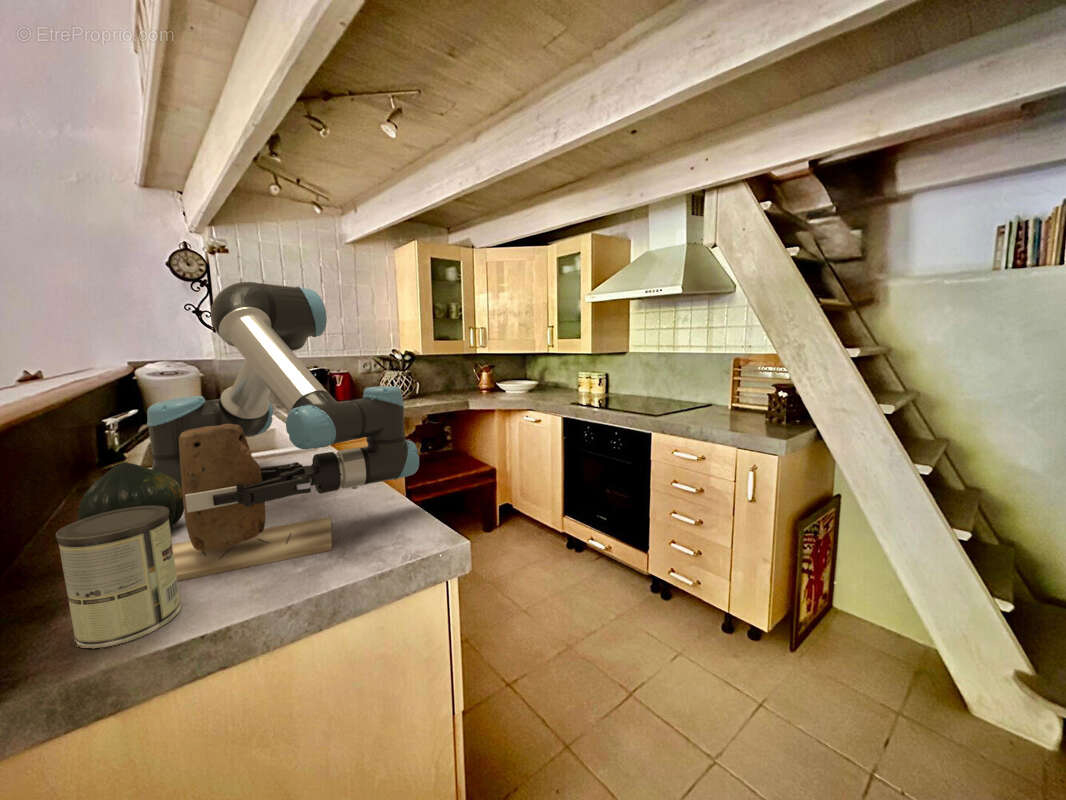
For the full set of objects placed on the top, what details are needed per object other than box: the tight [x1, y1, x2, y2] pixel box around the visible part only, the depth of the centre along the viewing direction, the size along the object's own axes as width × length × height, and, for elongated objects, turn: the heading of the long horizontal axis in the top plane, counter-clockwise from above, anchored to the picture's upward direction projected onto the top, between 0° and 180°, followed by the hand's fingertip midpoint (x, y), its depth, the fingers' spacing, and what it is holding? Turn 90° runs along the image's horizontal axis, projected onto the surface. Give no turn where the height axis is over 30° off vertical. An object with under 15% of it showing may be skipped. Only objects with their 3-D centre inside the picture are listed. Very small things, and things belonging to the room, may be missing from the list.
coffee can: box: [55, 505, 182, 647], centre depth 55 cm, size 10×10×14 cm
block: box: [179, 424, 266, 551], centre depth 72 cm, size 11×8×20 cm
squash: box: [77, 461, 185, 528], centre depth 82 cm, size 14×15×15 cm
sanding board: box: [172, 516, 333, 582], centre depth 75 cm, size 14×28×1 cm, turn 116°
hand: (188, 496), depth 70 cm, fingers closed on block, 8 cm apart
